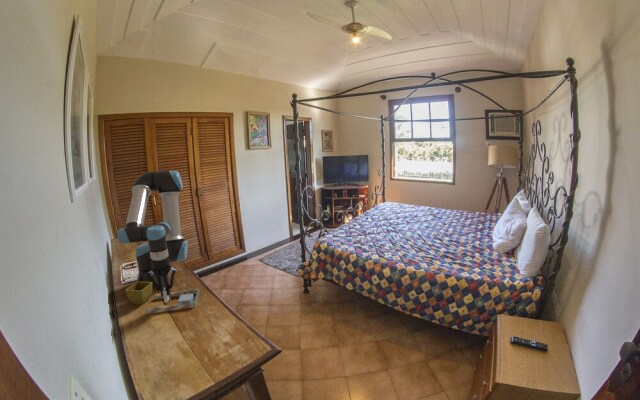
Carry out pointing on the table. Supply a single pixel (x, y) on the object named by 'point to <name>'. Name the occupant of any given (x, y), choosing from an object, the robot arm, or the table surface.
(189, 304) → the wooden wall shelf
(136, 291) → the flower pot
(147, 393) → the table surface
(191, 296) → the slate block
